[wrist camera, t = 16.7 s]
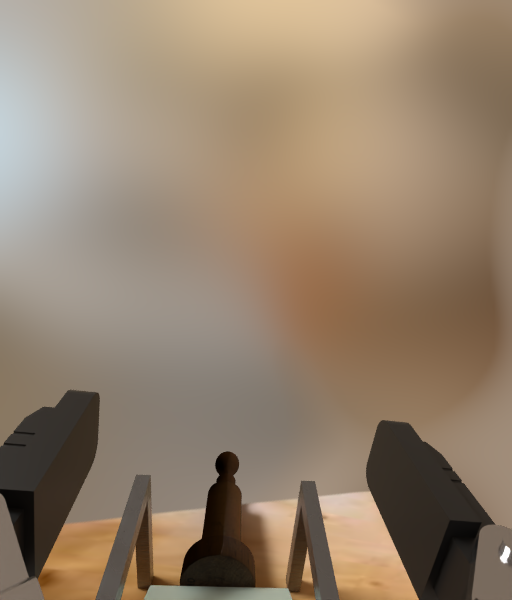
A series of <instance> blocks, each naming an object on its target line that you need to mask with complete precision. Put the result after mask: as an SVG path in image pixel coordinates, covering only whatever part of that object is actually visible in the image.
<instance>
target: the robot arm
mask: <svg viewBox="0 0 512 600" xmlns="http://www.w3.org/2000/svg"><path fill="white" fill-rule="evenodd" d="M99 399H100V398H99V394H98V393H96V392H86V391H76V390H69V391H67V393H66V394H65V395H64V396H63V398H62V399H61V400H60V402H59V403H58V404H57V405H56V407H55V408H52V407H42V408H41V409H39V410H37V411H36V412H34V413H32V414H31V415H29V416H28V417H26V418H25V419H24V420H23V421H22V422H21V424H20V425H19V426H18V427H17V428H16V429H15V431H14V433H13V434H11V435H10V436H9V437H8V439H7V440H6V441H5V442H4V445H3V446H1V447H0V600H44V597H43V594H42V591H41V588H40V585H39V582H38V580H37V579H38V577H39V575H40V573H41V571H42V568H43V566H44V564H45V562H46V560H47V558H48V556H49V554H50V552H51V550H52V548H53V546H54V543H55V541H56V539H57V537H58V535H59V533H60V531H61V529H62V527H63V525H64V523H65V521H66V518H67V516H68V514H69V512H70V510H71V508H72V506H73V504H74V502H75V500H76V498H77V495H78V494H79V491H80V489H81V487H82V485H83V483H84V481H85V479H86V477H87V475H88V473H89V471H90V468H91V466H92V464H93V461H94V458H95V454H96V450H97V444H98V426H99V402H100V400H99ZM366 477H367V483H368V487H369V489H370V491H371V494H372V496H373V498H374V500H375V502H376V505H377V507H378V509H379V511H380V514H381V516H382V518H383V520H384V523H385V525H386V527H387V529H388V531H389V534H390V536H391V538H392V540H393V543H394V545H395V547H396V549H397V551H398V554H399V556H400V558H401V560H402V563H403V565H404V567H405V569H406V572H407V574H408V576H409V578H410V580H411V583H412V585H413V587H414V589H415V592H416V594H417V596H418V598H419V600H512V529H510V528H507V527H504V526H499V525H495V523H494V522H493V521H492V519H491V518H490V517H489V516H488V514H487V513H486V512H485V510H484V509H483V508H482V506H481V505H480V504H479V503H478V501H477V500H476V499H475V497H474V496H473V495H472V493H471V492H470V491H469V490H468V488H467V487H466V486H465V484H464V483H462V482H461V481H462V480H461V479H460V478H459V476H458V475H457V474H456V473H455V472H454V471H453V470H452V467H451V466H450V465H449V464H448V462H447V461H446V460H445V458H444V457H443V456H442V454H440V453H439V452H438V451H437V450H435V449H434V448H433V447H432V446H430V445H429V444H428V443H426V442H423V441H422V440H421V439H420V437H419V436H418V435H417V433H416V432H415V431H414V429H413V428H412V426H411V425H410V424H409V423H405V422H395V421H385V420H382V421H381V422H380V423H379V424H378V427H377V430H376V433H375V437H374V441H373V444H372V448H371V451H370V455H369V459H368V462H367V468H366Z"/></svg>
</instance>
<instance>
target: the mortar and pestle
mask: <svg viewBox="0 0 512 600" xmlns="http://www.w3.org/2000/svg"><path fill="white" fill-rule="evenodd" d="M215 466H216V470H217V472H218V473H219V475H220V476H219V477H218V478H217V481H216V482H217V483H215V484H213V485H212V486H211V488H210V490H209V492H208V498H207V506H206V513H205V520H204V527H203V534H202V539H201V540H199V541H198V542H196V543H195V544H193V545H192V546H191V547H190V549H189V550H188V551H187V553H186V555H185V558H184V562H183V567H182V572H181V577H180V586H208V587H252V588H255V565H254V559H253V556H252V553H251V552H250V550H249V549H248V547H247V546H246V545H244V544H243V543H242V542H241V497H242V496H241V491H240V489H239V488H238V486H237V485H235V478H234V476H233V475H234V474H235V473H236V472H237V470H238V468H239V460H238V458H237V456H236V455H235V454H234V453H232V452H223V453H221V454H220V455H219V456H218V458H217V459H216V463H215Z"/></svg>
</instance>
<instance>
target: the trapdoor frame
mask: <svg viewBox="0 0 512 600" xmlns="http://www.w3.org/2000/svg"><path fill="white" fill-rule="evenodd" d="M135 545H136V563H137V582H138V588H149V587H150V585H151V584H152V579H153V544H152V510H151V476H150V475H136V477H135V480H134V484H133V486H132V490H131V493H130V496H129V498H128V502H127V505H126V508H125V511H124V514H123V517H122V520H121V523H120V526H119V529H118V532H117V535H116V538H115V541H114V544H113V547H112V550H111V553H110V556H109V560H108V563H107V566H106V569H105V572H104V575H103V578H102V581H101V584H100V587H99V590H98V593H97V596H96V599H95V600H121V596H122V593H123V589H124V585H125V582H126V578H127V574H128V571H129V567H130V563H131V560H132V556H133V552H134V549H135ZM307 547H308V553H309V560H310V566H311V572H312V579H313V585H314V592H315V598H316V600H339V595H338V590H337V585H336V581H335V576H334V571H333V566H332V561H331V557H330V552H329V547H328V542H327V537H326V533H325V528H324V523H323V518H322V513H321V508H320V504H319V499H318V494H317V490H316V484H315V481H301V486H300V492H299V498H298V505H297V511H296V518H295V524H294V530H293V537H292V543H291V549H290V556H289V562H288V569H287V575H286V584H287V588H288V589H289V591H300V586H301V581H302V575H303V569H304V564H305V558H306V553H307Z"/></svg>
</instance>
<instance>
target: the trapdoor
mask: <svg viewBox="0 0 512 600" xmlns="http://www.w3.org/2000/svg"><path fill="white" fill-rule="evenodd" d="M144 600H292V598H291V595H290V592H289V589H288V588H252V587H208V586H163V585H150V587H149V589H148V591H147V594H146V596H145V598H144Z"/></svg>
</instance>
